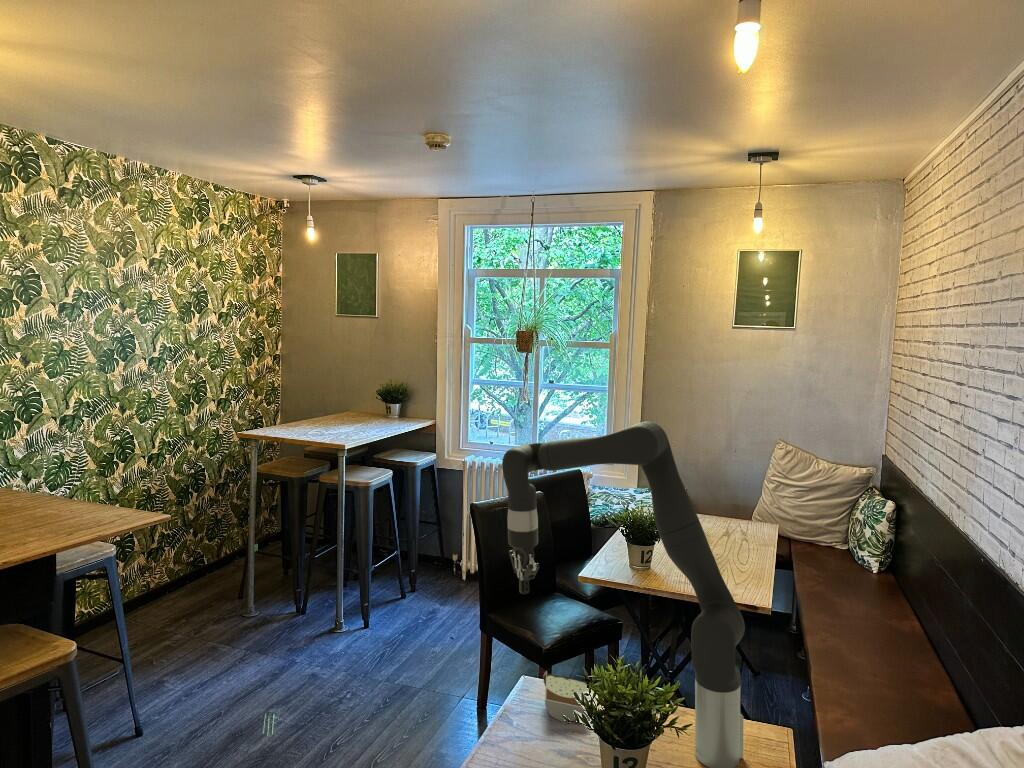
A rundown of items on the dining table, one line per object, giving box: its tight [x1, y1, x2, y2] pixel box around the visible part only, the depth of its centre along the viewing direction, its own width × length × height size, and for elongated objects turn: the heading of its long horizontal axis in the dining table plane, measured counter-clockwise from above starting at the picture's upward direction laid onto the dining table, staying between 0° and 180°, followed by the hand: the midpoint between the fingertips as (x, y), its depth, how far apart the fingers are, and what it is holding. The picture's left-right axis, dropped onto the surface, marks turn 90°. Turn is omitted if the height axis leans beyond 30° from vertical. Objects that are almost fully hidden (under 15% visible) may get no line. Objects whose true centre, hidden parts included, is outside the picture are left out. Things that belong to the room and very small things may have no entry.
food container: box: [542, 670, 588, 722], centre depth 159 cm, size 12×6×10 cm
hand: (524, 592), depth 164 cm, fingers closed
